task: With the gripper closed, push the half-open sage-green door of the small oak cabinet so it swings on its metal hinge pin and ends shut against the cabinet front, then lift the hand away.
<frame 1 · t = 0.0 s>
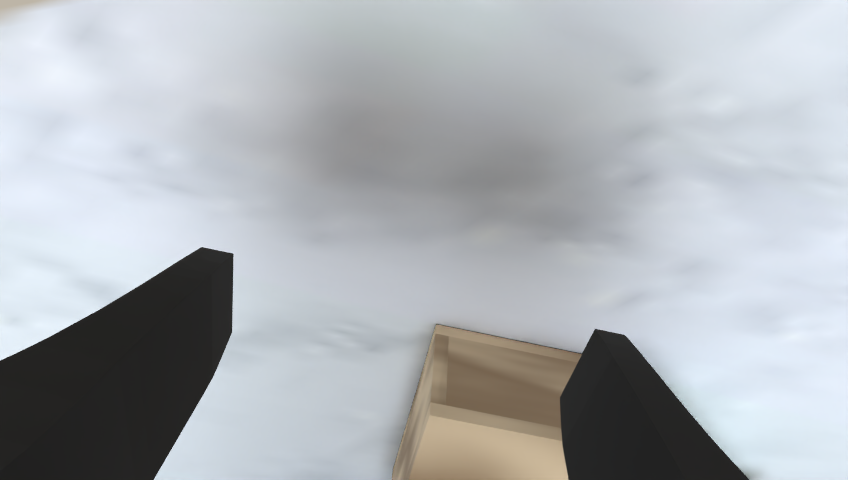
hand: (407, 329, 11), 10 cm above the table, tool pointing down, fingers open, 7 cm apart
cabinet: (489, 420, 27), on the table
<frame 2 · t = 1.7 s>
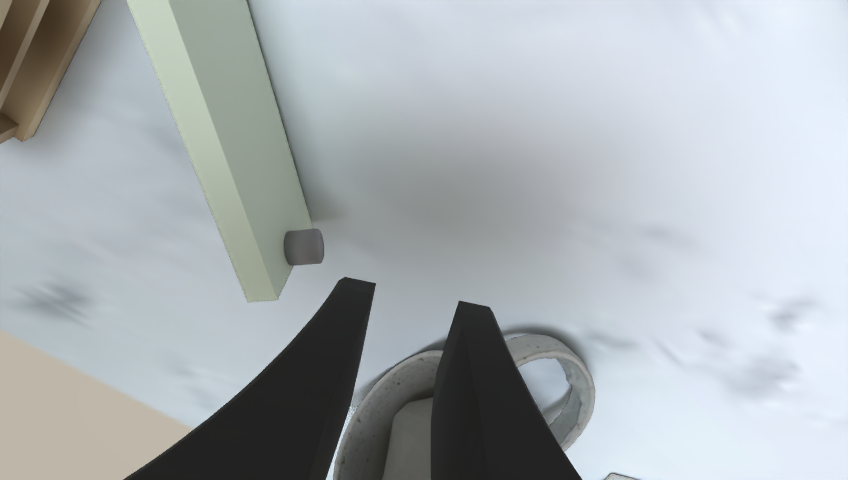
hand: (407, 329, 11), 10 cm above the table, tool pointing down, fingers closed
ceramic mug: (474, 387, 26), on the table
door: (251, 118, 16), point 3 cm above the table, hinge at 50.0°
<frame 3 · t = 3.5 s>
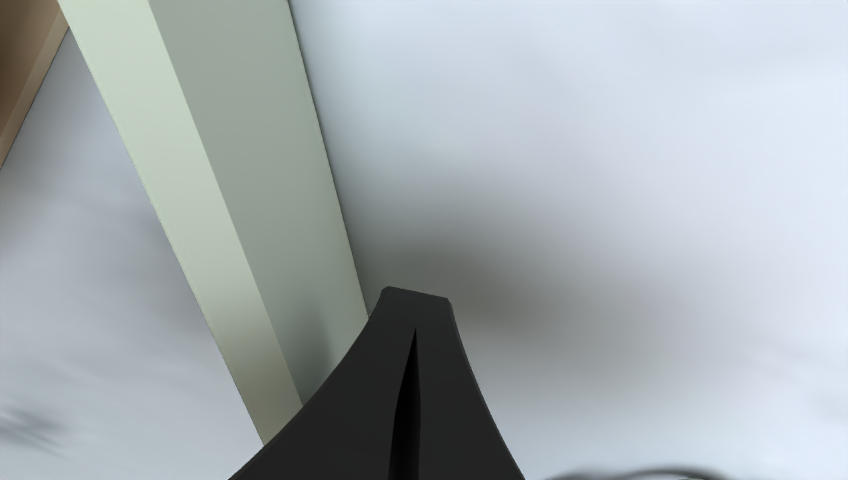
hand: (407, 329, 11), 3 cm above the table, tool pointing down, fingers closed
door: (306, 232, 10), point 3 cm above the table, hinge at 50.0°, touching gripper
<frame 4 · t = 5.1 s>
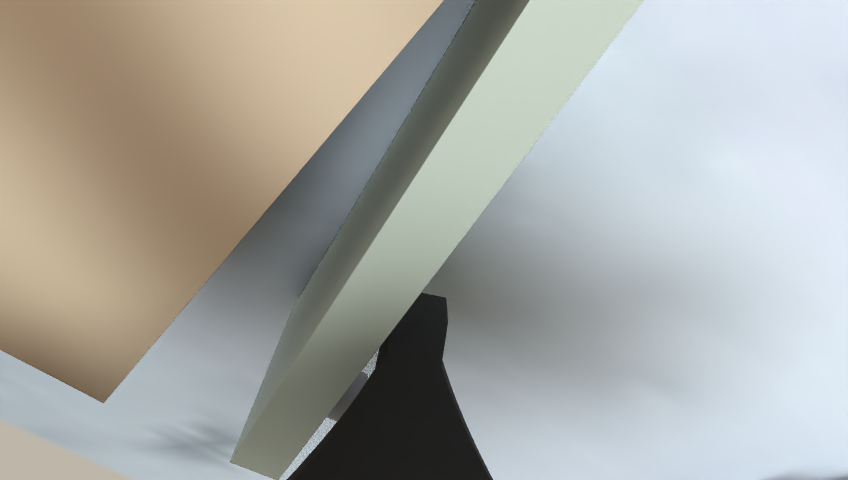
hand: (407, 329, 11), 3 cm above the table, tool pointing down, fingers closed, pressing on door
door: (419, 227, 10), point 3 cm above the table, hinge at 11.0°, touching gripper
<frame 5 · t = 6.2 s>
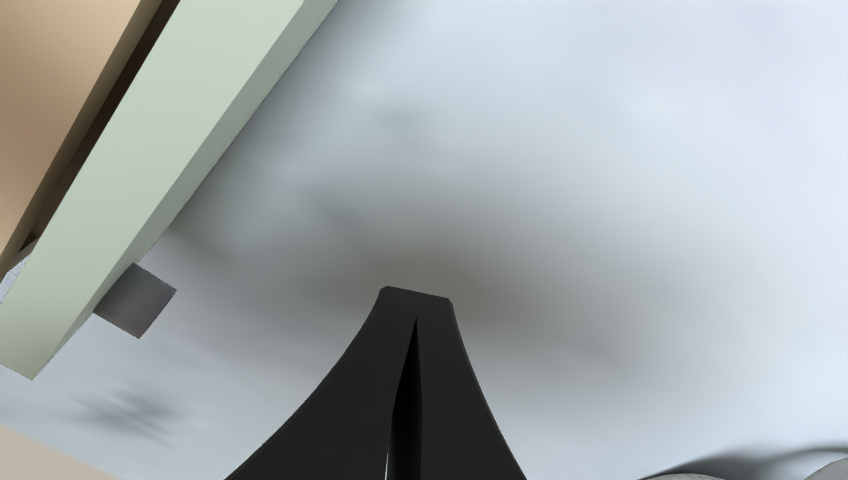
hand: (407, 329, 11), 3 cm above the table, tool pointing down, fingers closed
door: (234, 124, 9), point 3 cm above the table, hinge at -0.1°
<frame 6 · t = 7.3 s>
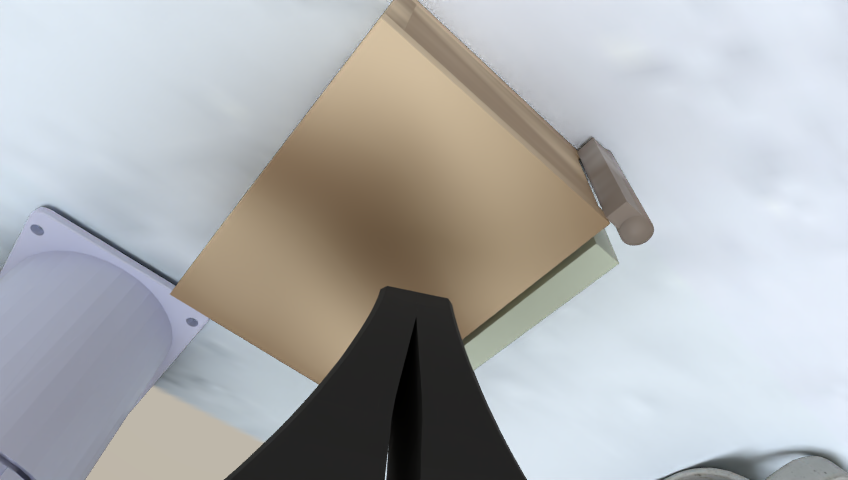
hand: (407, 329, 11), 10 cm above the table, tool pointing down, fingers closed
door: (489, 312, 20), point 3 cm above the table, hinge at -0.1°
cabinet: (392, 185, 20), on the table
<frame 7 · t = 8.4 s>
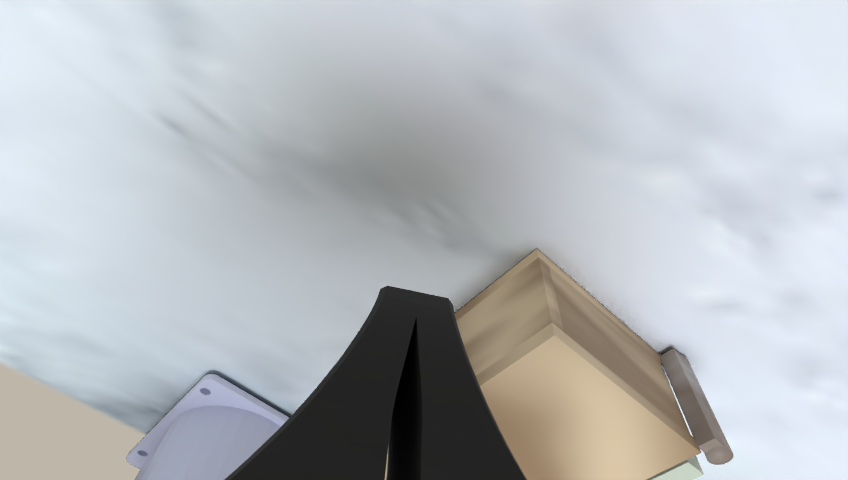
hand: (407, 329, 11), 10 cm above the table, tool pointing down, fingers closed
door: (582, 475, 24), point 3 cm above the table, hinge at -0.1°
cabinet: (505, 369, 25), on the table
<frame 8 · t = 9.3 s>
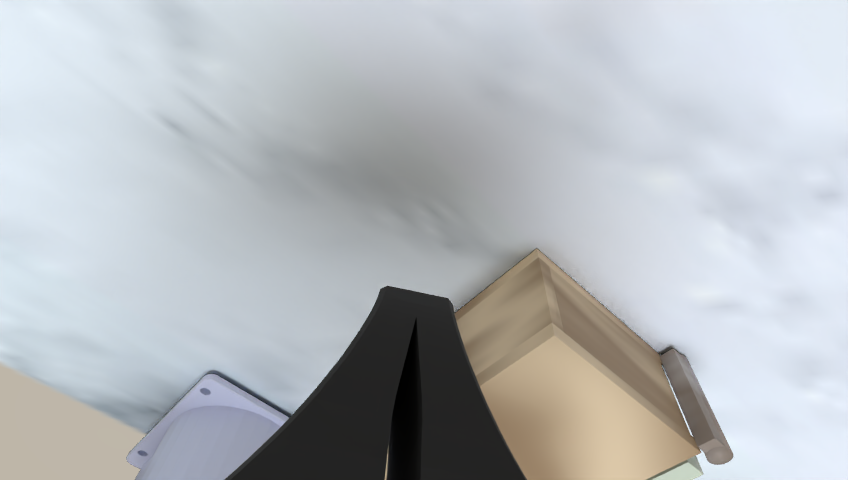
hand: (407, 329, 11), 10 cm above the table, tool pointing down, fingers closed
door: (582, 475, 24), point 3 cm above the table, hinge at -0.1°
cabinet: (505, 369, 25), on the table
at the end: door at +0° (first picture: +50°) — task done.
